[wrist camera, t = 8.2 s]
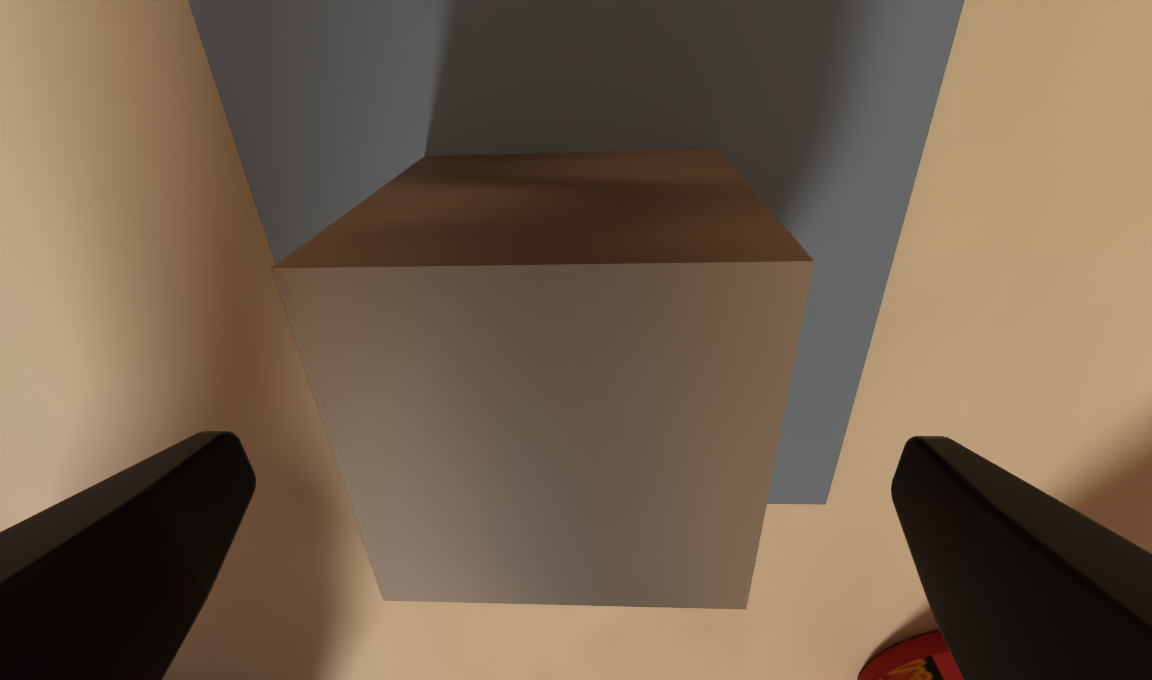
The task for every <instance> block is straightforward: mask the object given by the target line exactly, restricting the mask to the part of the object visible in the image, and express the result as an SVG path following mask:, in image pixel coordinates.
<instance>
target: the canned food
mask: <svg viewBox="0 0 1152 680" xmlns="http://www.w3.org/2000/svg"><path fill="white" fill-rule="evenodd" d="M858 680H963V678H962V676H961V674H960V672H959V670H958V667H957V665H956V663H955V661H954V659H953V657H952V655H951V653H950V650H949V648H948V646H947V644H946V642H945V640H944V638H943V636H942V633H941V631H936V632H931V633H927V634H924V635H920V636H917V637H914V638H911V639H908V640H906V641H904V642H901V643H899V644H897V645H895V646H893V647H891V648H889V649H888V650H886V651H884V652H883V653H881V654H880V655H878V656H877V657H876V658H875V659H874V660H872V661H871V662H870V663H869V664H868V665H867V666H866V667H865V669H864V670H863V672H862V673H861V675H860V676H859V678H858Z"/></svg>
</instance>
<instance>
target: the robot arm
mask: <svg viewBox="0 0 1152 680" xmlns="http://www.w3.org/2000/svg"><path fill="white" fill-rule="evenodd" d="M255 486H256V477H255V473H254V471H253V468H252V466H251V464H250V462H249V459H248V457H247V455H246V453H245V450H244V448H243V446H242V444H241V441H240V439H239V438H238V437H237V436H236V435H235V434H234V433H232V432H228V431H205V432H200V433H197V434H195V435H193V436H191V437H189V438H187V439H185V440H183V441H181V442H179V443H177V444H175V445H173V446H171V447H169V448H167V449H165V450H163V451H161V452H159V453H157V454H155V455H153V456H151V457H149V458H147V459H145V460H143V461H141V462H139V463H137V464H135V465H133V466H131V467H129V468H127V469H125V470H123V471H121V472H119V473H117V474H115V475H113V476H111V477H109V478H107V479H105V480H103V481H101V482H99V483H97V484H95V485H93V486H91V487H89V488H87V489H85V490H83V491H81V492H79V493H77V494H75V495H73V496H71V497H70V498H68V499H66V500H64V501H62V502H60V503H58V504H56V505H54V506H52V507H50V508H48V509H46V510H44V511H42V512H40V513H38V514H36V515H34V516H32V517H30V518H28V519H26V520H24V521H22V522H20V523H18V524H16V525H14V526H12V527H10V528H8V529H6V530H4V531H2V532H0V680H163V678H164V676H165V674H166V673H167V671H168V669H169V667H170V665H171V664H172V662H173V660H174V658H175V656H176V654H177V653H178V651H179V649H180V647H181V645H182V644H183V642H184V640H185V638H186V636H187V635H188V633H189V631H190V629H191V627H192V626H193V624H194V622H195V620H196V618H197V617H198V615H199V613H200V611H201V609H202V607H203V605H204V603H205V601H206V600H207V598H208V596H209V594H210V591H211V589H212V587H213V585H214V583H215V581H216V579H217V576H218V574H219V572H220V569H221V567H222V565H223V563H224V560H225V558H226V556H227V553H228V551H229V549H230V547H231V544H232V542H233V540H234V537H235V535H236V533H237V531H238V528H239V526H240V524H241V521H242V519H243V517H244V515H245V512H246V510H247V508H248V505H249V503H250V501H251V499H252V496H253V494H254V491H255ZM891 494H892V500H893V503H894V506H895V509H896V512H897V515H898V518H899V520H900V523H901V526H902V529H903V532H904V535H905V538H906V540H907V543H908V546H909V549H910V552H911V555H912V557H913V560H914V563H915V566H916V569H917V572H918V575H919V577H920V580H921V583H922V586H923V589H924V592H925V595H926V597H927V600H928V602H929V605H930V608H931V610H932V613H933V615H934V618H935V620H936V622H937V624H938V627H939V629H940V631H941V633H942V636H943V638H944V640H945V642H946V644H947V646H948V648H949V650H950V653H951V655H952V657H953V659H954V661H955V663H956V665H957V667H958V670H959V672H960V674H961V676H962V678H963V680H1152V554H1151V553H1150V552H1148V551H1146V550H1144V549H1143V548H1141V547H1139V546H1137V545H1136V544H1134V543H1132V542H1130V541H1128V540H1127V539H1125V538H1123V537H1121V536H1120V535H1118V534H1116V533H1114V532H1113V531H1111V530H1109V529H1107V528H1106V527H1104V526H1102V525H1100V524H1099V523H1097V522H1095V521H1093V520H1092V519H1090V518H1088V517H1086V516H1085V515H1083V514H1081V513H1079V512H1078V511H1076V510H1074V509H1072V508H1071V507H1069V506H1067V505H1065V504H1064V503H1062V502H1060V501H1058V500H1057V499H1055V498H1053V497H1051V496H1050V495H1048V494H1046V493H1044V492H1043V491H1041V490H1039V489H1037V488H1036V487H1034V486H1032V485H1030V484H1029V483H1027V482H1025V481H1023V480H1022V479H1020V478H1018V477H1016V476H1015V475H1013V474H1011V473H1009V472H1008V471H1006V470H1004V469H1002V468H1001V467H999V466H997V465H995V464H994V463H992V462H990V461H988V460H987V459H985V458H983V457H981V456H980V455H978V454H976V453H974V452H973V451H971V450H969V449H967V448H966V447H964V446H962V445H960V444H959V443H957V442H955V441H953V440H952V439H950V438H947V437H943V436H915V437H912V438H910V439H909V440H908V441H907V442H906V444H905V446H904V449H903V452H902V455H901V458H900V460H899V463H898V466H897V469H896V472H895V475H894V478H893V480H892V486H891Z"/></svg>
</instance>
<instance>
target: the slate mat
mask: <svg viewBox="0 0 1152 680" xmlns="http://www.w3.org/2000/svg"><path fill="white" fill-rule="evenodd" d="M188 1H189V4H190V7H191V10H192V13H193V16H194V19H195V22H196V25H197V28H198V31H199V34H200V37H201V40H202V43H203V46H204V49H205V52H206V56H207V59H208V62H209V65H210V68H211V71H212V74H213V77H214V80H215V83H216V86H217V89H218V92H219V95H220V98H221V101H222V104H223V107H224V110H225V113H226V116H227V119H228V122H229V125H230V128H231V131H232V134H233V137H234V140H235V143H236V146H237V149H238V152H239V155H240V158H241V161H242V164H243V167H244V170H245V173H246V176H247V179H248V182H249V185H250V188H251V191H252V194H253V198H254V201H255V204H256V207H257V210H258V213H259V216H260V219H261V222H262V225H263V228H264V231H265V234H266V237H267V240H268V243H269V246H270V249H271V252H272V255H273V258H274V261H275V264H277V263H279V262H280V261H281V260H283V259H284V258H285V257H287V256H288V255H290V254H291V253H292V252H294V251H295V250H296V249H298V248H299V247H301V246H302V245H303V244H305V243H306V242H307V241H309V240H310V239H311V238H313V237H314V236H316V235H317V234H318V233H320V232H321V231H322V230H324V229H325V228H327V227H328V226H329V225H331V224H332V223H333V222H335V221H336V220H338V219H339V218H340V217H342V216H343V215H344V214H346V213H347V212H348V211H350V210H351V209H353V208H354V207H355V206H357V205H358V204H359V203H361V202H362V201H364V200H365V199H366V198H368V197H369V196H370V195H372V194H373V193H375V192H376V191H377V190H379V189H380V188H381V187H383V186H384V185H385V184H387V183H388V182H390V181H391V180H392V179H394V178H395V177H396V176H398V175H399V174H401V173H402V172H403V171H405V170H406V169H407V168H409V167H410V166H411V165H413V164H414V163H416V162H417V161H418V160H420V159H421V158H422V157H424V156H448V155H487V154H525V153H564V152H603V151H641V150H680V149H718V150H719V152H720V153H721V154H722V155H723V156H724V157H725V158H726V160H727V161H728V162H729V163H730V164H731V165H732V167H733V168H734V169H735V170H736V171H737V172H738V173H739V175H740V176H741V177H742V178H743V179H744V180H745V182H746V183H747V184H748V185H749V186H750V187H751V188H752V190H753V191H754V192H755V193H756V194H757V195H758V197H759V198H760V199H761V200H762V201H763V202H764V204H765V205H766V206H767V207H768V208H769V209H770V210H771V212H772V213H773V214H774V215H775V216H776V217H777V219H778V220H779V221H780V222H781V223H782V224H783V225H784V227H785V228H786V229H787V230H788V231H789V232H790V234H791V235H792V236H793V237H794V238H795V239H796V240H797V242H798V243H799V244H800V245H801V246H802V247H803V249H804V250H805V251H806V252H807V253H808V254H809V255H810V257H811V258H812V259H813V260H814V266H813V271H812V276H811V281H810V286H809V291H808V296H807V302H806V307H805V312H804V317H803V322H802V327H801V332H800V337H799V342H798V347H797V352H796V357H795V363H794V368H793V373H792V378H791V383H790V388H789V393H788V398H787V403H786V408H785V413H784V418H783V424H782V429H781V434H780V439H779V444H778V449H777V454H776V459H775V464H774V469H773V474H772V479H771V485H770V490H769V495H768V500H767V504H826V501H827V498H828V494H829V491H830V487H831V483H832V480H833V476H834V472H835V469H836V465H837V461H838V458H839V454H840V451H841V447H842V443H843V440H844V436H845V432H846V429H847V425H848V421H849V418H850V414H851V411H852V407H853V403H854V400H855V396H856V392H857V389H858V385H859V381H860V378H861V374H862V371H863V367H864V363H865V360H866V356H867V352H868V349H869V345H870V342H871V338H872V334H873V331H874V327H875V323H876V320H877V316H878V312H879V309H880V305H881V302H882V298H883V294H884V291H885V287H886V283H887V280H888V276H889V272H890V269H891V265H892V262H893V258H894V254H895V251H896V247H897V243H898V240H899V236H900V232H901V229H902V225H903V222H904V218H905V214H906V211H907V207H908V203H909V200H910V196H911V192H912V189H913V185H914V182H915V178H916V174H917V171H918V167H919V163H920V160H921V156H922V152H923V149H924V145H925V142H926V138H927V134H928V131H929V127H930V123H931V120H932V116H933V112H934V109H935V105H936V102H937V98H938V94H939V91H940V87H941V83H942V80H943V76H944V73H945V69H946V65H947V62H948V58H949V54H950V51H951V47H952V43H953V40H954V36H955V33H956V29H957V25H958V22H959V18H960V14H961V11H962V7H963V3H964V0H188Z"/></svg>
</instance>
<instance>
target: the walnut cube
mask: <svg viewBox="0 0 1152 680" xmlns="http://www.w3.org/2000/svg"><path fill="white" fill-rule="evenodd" d="M813 266H814V260H813V259H812V258H811V257H810V255H809V254H808V253H807V252H806V251H805V250H804V249H803V247H802V246H801V245H800V244H799V243H798V242H797V240H796V239H795V238H794V237H793V236H792V235H791V234H790V232H789V231H788V230H787V229H786V228H785V227H784V225H783V224H782V223H781V222H780V221H779V220H778V219H777V217H776V216H775V215H774V214H773V213H772V212H771V210H770V209H769V208H768V207H767V206H766V205H765V204H764V202H763V201H762V200H761V199H760V198H759V197H758V195H757V194H756V193H755V192H754V191H753V190H752V188H751V187H750V186H749V185H748V184H747V183H746V182H745V180H744V179H743V178H742V177H741V176H740V175H739V173H738V172H737V171H736V170H735V169H734V168H733V167H732V165H731V164H730V163H729V162H728V161H727V160H726V158H725V157H724V156H723V155H722V154H721V153H720V152H719V150H718V149H680V150H641V151H603V152H564V153H525V154H487V155H448V156H424V157H422V158H421V159H420V160H418V161H417V162H416V163H414V164H413V165H411V166H410V167H409V168H407V169H406V170H405V171H403V172H402V173H401V174H399V175H398V176H396V177H395V178H394V179H392V180H391V181H390V182H388V183H387V184H385V185H384V186H383V187H381V188H380V189H379V190H377V191H376V192H375V193H373V194H372V195H370V196H369V197H368V198H366V199H365V200H364V201H362V202H361V203H359V204H358V205H357V206H355V207H354V208H353V209H351V210H350V211H348V212H347V213H346V214H344V215H343V216H342V217H340V218H339V219H338V220H336V221H335V222H333V223H332V224H331V225H329V226H328V227H327V228H325V229H324V230H322V231H321V232H320V233H318V234H317V235H316V236H314V237H313V238H311V239H310V240H309V241H307V242H306V243H305V244H303V245H302V246H301V247H299V248H298V249H296V250H295V251H294V252H292V253H291V254H290V255H288V256H287V257H285V258H284V259H283V260H281V261H280V262H279V263H277V264H276V265H275V266H273V267H272V268H271V271H272V274H273V277H274V280H275V283H276V286H277V289H278V292H279V295H280V298H281V301H282V304H283V307H284V310H285V313H286V316H287V319H288V322H289V324H290V327H291V330H292V333H293V336H294V339H295V342H296V345H297V348H298V351H299V354H300V357H301V360H302V363H303V366H304V369H305V372H306V375H307V378H308V381H309V383H310V386H311V389H312V392H313V395H314V398H315V401H316V404H317V407H318V410H319V413H320V416H321V419H322V422H323V425H324V428H325V431H326V434H327V437H328V440H329V442H330V445H331V448H332V451H333V454H334V457H335V460H336V463H337V466H338V469H339V472H340V475H341V478H342V481H343V484H344V487H345V490H346V493H347V496H348V499H349V501H350V504H351V507H352V510H353V513H354V516H355V519H356V522H357V525H358V528H359V531H360V534H361V537H362V540H363V543H364V546H365V549H366V552H367V555H368V558H369V560H370V563H371V566H372V569H373V572H374V575H375V578H376V581H377V584H378V587H379V590H380V593H381V596H382V599H383V600H387V601H428V602H468V603H509V604H550V605H591V606H631V607H672V608H713V609H746V607H747V601H748V596H749V591H750V586H751V581H752V576H753V571H754V566H755V561H756V556H757V551H758V546H759V540H760V535H761V530H762V525H763V520H764V515H765V510H766V505H767V500H768V495H769V490H770V485H771V479H772V474H773V469H774V464H775V459H776V454H777V449H778V444H779V439H780V434H781V429H782V424H783V418H784V413H785V408H786V403H787V398H788V393H789V388H790V383H791V378H792V373H793V368H794V363H795V357H796V352H797V347H798V342H799V337H800V332H801V327H802V322H803V317H804V312H805V307H806V302H807V296H808V291H809V286H810V281H811V276H812V271H813Z"/></svg>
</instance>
